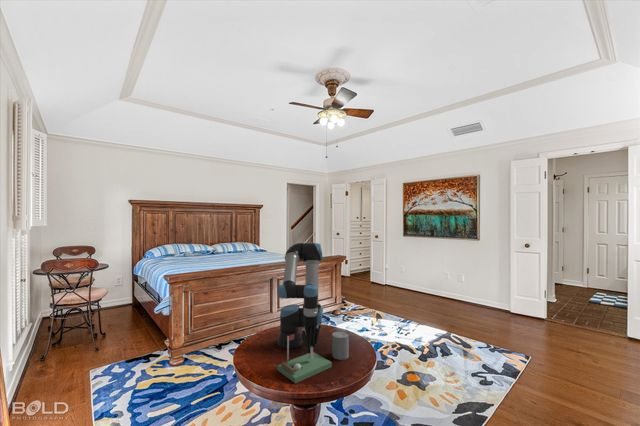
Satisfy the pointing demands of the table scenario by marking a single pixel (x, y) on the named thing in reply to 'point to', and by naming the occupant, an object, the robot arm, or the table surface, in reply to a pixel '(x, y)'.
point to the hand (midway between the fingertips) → (310, 358)
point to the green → (303, 365)
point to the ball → (297, 367)
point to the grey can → (340, 345)
